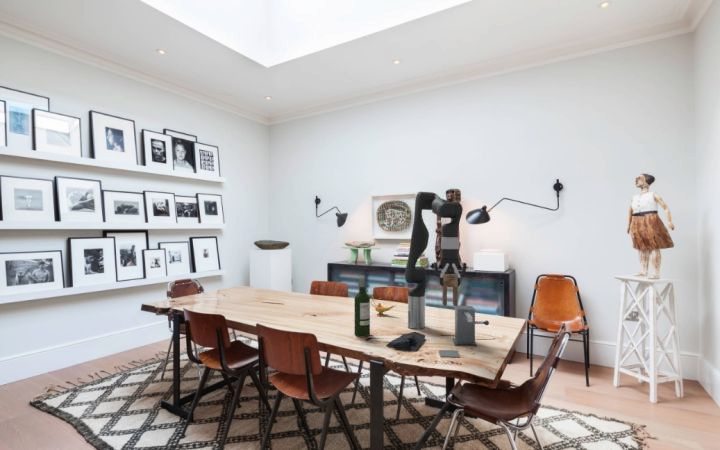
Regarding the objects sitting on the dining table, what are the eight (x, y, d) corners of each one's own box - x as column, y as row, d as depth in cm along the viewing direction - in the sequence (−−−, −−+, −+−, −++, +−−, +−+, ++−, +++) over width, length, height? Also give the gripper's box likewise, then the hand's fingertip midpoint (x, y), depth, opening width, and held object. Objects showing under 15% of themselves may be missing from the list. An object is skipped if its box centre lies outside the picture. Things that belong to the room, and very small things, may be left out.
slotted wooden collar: (443, 305, 158) (443, 275, 158) (442, 303, 162) (442, 274, 162) (457, 306, 158) (457, 275, 158) (456, 304, 162) (456, 274, 162)
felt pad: (440, 357, 156) (440, 356, 156) (439, 350, 164) (439, 349, 164) (459, 357, 155) (459, 356, 155) (457, 351, 163) (457, 350, 163)
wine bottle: (364, 337, 183) (364, 277, 183) (351, 335, 188) (351, 276, 188) (372, 333, 190) (372, 275, 190) (359, 331, 194) (359, 274, 194)
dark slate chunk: (430, 340, 181) (430, 330, 181) (415, 354, 162) (415, 343, 162) (401, 335, 188) (401, 326, 188) (383, 348, 169) (383, 338, 169)
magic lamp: (393, 318, 222) (393, 300, 222) (367, 314, 232) (367, 296, 232) (398, 316, 227) (398, 298, 227) (373, 312, 237) (373, 295, 237)
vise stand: (458, 353, 160) (458, 314, 160) (452, 340, 179) (452, 305, 179) (496, 355, 158) (496, 315, 158) (487, 341, 177) (487, 306, 177)
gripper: (433, 248, 157) (433, 287, 157) (468, 248, 155) (468, 288, 155) (432, 247, 165) (432, 284, 165) (465, 247, 163) (465, 285, 163)
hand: (449, 286), depth 160 cm, fingers closed on slotted wooden collar, 6 cm apart
